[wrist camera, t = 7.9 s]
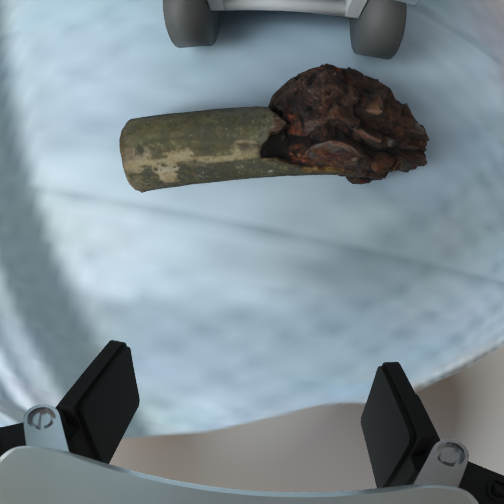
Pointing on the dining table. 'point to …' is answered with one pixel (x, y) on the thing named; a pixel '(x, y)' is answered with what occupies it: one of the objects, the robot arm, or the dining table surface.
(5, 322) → the dining table surface
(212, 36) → the trolley
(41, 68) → the dining table surface
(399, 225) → the dining table surface
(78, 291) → the dining table surface
